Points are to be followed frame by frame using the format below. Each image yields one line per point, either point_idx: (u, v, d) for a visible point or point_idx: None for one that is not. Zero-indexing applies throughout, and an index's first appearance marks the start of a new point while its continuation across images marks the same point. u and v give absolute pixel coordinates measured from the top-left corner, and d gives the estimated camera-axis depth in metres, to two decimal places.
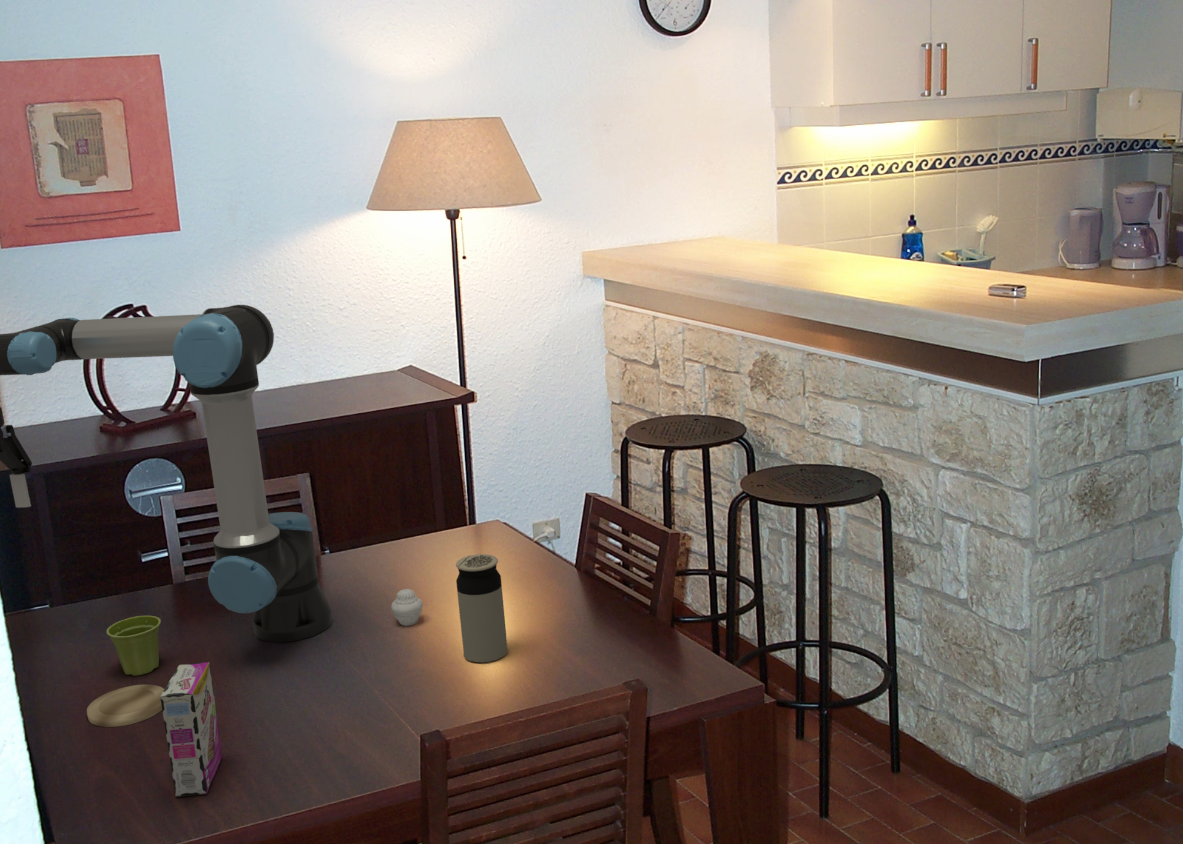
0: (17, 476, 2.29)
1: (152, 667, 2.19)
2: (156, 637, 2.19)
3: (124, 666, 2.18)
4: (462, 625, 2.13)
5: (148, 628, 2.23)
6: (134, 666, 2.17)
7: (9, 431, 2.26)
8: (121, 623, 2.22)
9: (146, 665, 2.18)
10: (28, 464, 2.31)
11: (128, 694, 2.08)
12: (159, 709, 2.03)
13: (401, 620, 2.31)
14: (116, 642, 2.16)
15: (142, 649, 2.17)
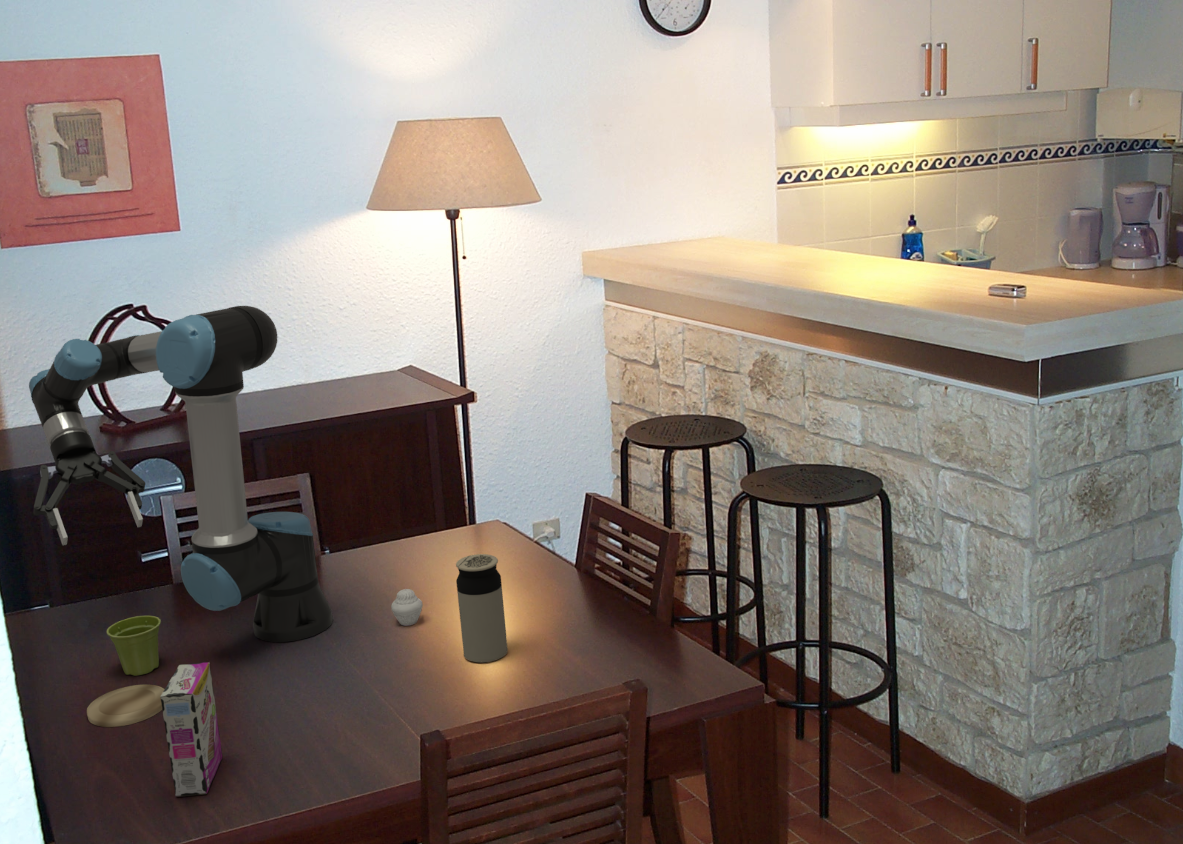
0: (128, 496, 2.29)
1: (152, 667, 2.19)
2: (156, 637, 2.19)
3: (124, 666, 2.18)
4: (462, 625, 2.13)
5: (148, 628, 2.23)
6: (134, 666, 2.17)
7: (110, 456, 2.32)
8: (121, 623, 2.22)
9: (146, 665, 2.18)
10: (139, 483, 2.31)
11: (128, 694, 2.08)
12: (159, 709, 2.03)
13: (401, 620, 2.31)
14: (116, 643, 2.16)
15: (142, 649, 2.17)
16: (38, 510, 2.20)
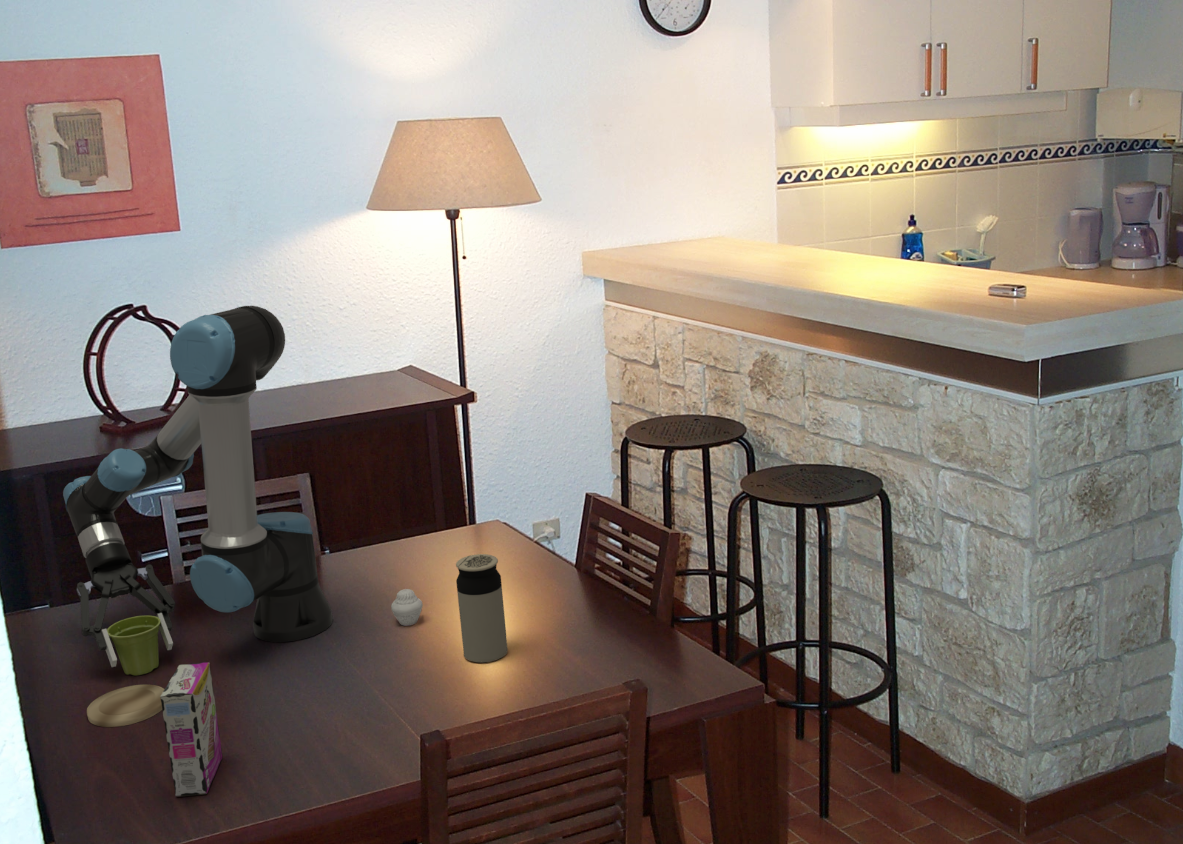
0: None
1: (152, 667, 2.19)
2: (156, 637, 2.19)
3: (124, 666, 2.18)
4: (462, 625, 2.13)
5: (148, 628, 2.23)
6: (134, 666, 2.17)
7: (146, 570, 2.26)
8: (121, 623, 2.22)
9: (146, 665, 2.18)
10: (169, 603, 2.24)
11: (128, 694, 2.08)
12: (159, 709, 2.03)
13: (401, 620, 2.31)
14: (116, 642, 2.16)
15: (142, 649, 2.17)
16: (87, 631, 2.15)
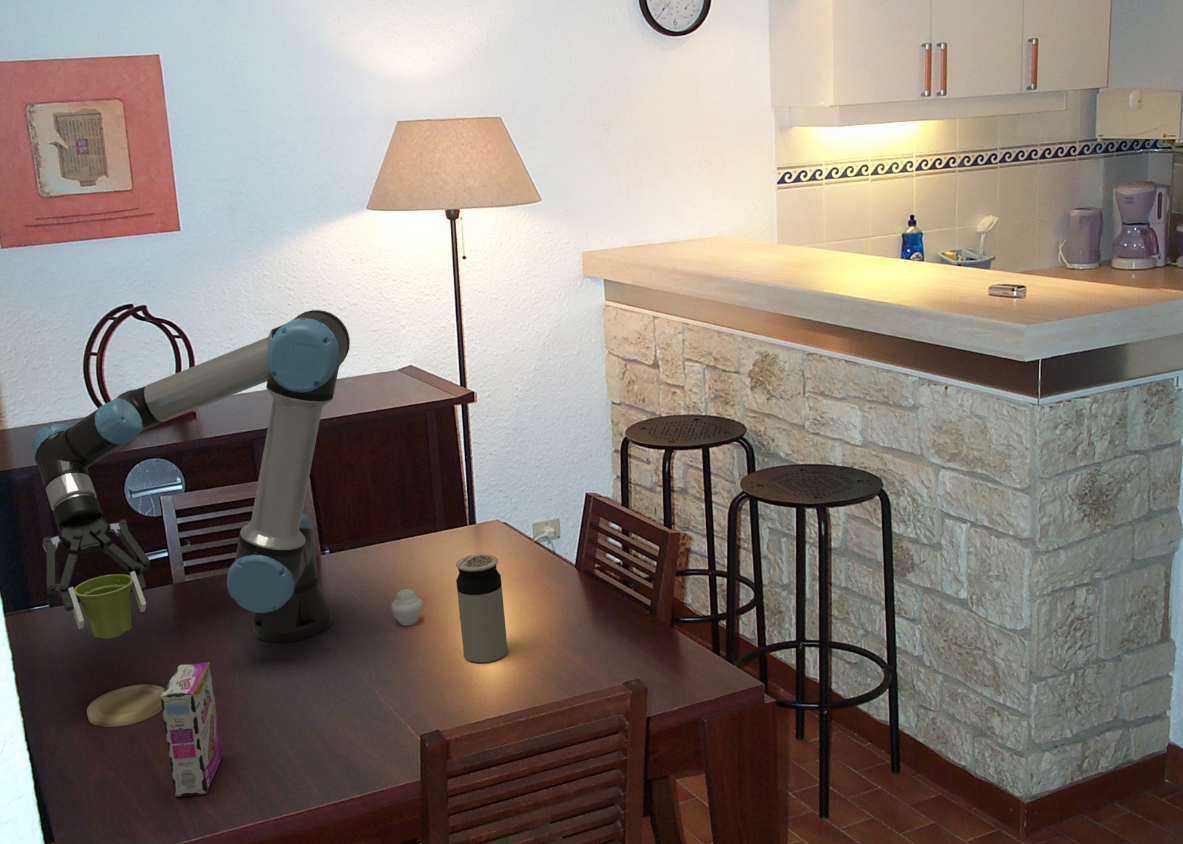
0: None
1: (123, 630, 2.01)
2: (128, 597, 2.01)
3: (93, 628, 2.00)
4: (462, 625, 2.13)
5: (120, 588, 2.05)
6: (104, 628, 1.99)
7: (119, 525, 2.08)
8: (91, 582, 2.04)
9: (116, 627, 2.00)
10: (143, 561, 2.06)
11: (128, 694, 2.08)
12: (159, 709, 2.03)
13: (401, 620, 2.31)
14: (83, 602, 1.98)
15: (111, 609, 1.99)
16: (53, 589, 1.98)
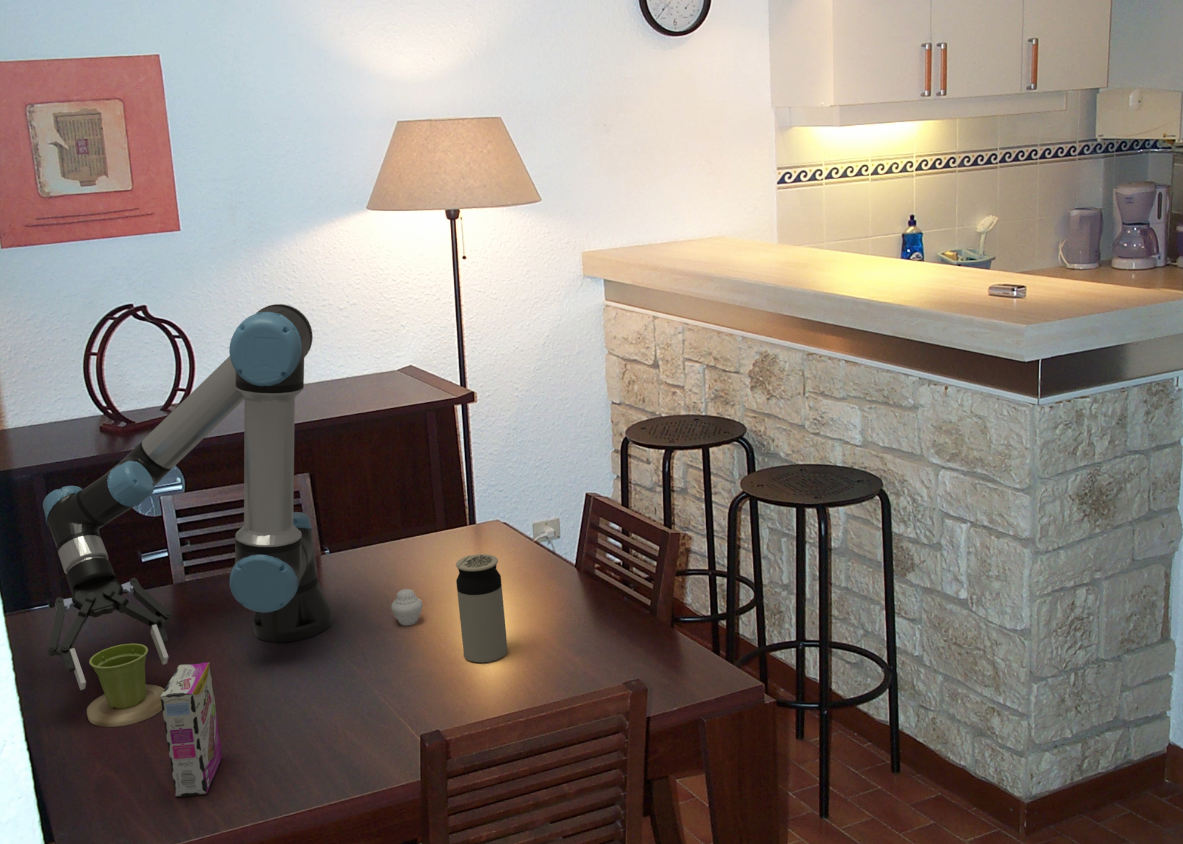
0: (151, 629, 2.08)
1: (138, 699, 2.04)
2: (143, 667, 2.04)
3: (108, 699, 2.02)
4: (462, 625, 2.13)
5: (134, 657, 2.07)
6: (119, 698, 2.02)
7: (131, 584, 2.10)
8: (105, 652, 2.06)
9: (132, 697, 2.02)
10: (164, 615, 2.09)
11: None
12: (159, 709, 2.03)
13: (401, 620, 2.31)
14: (99, 674, 2.00)
15: (127, 680, 2.01)
16: (53, 651, 1.99)
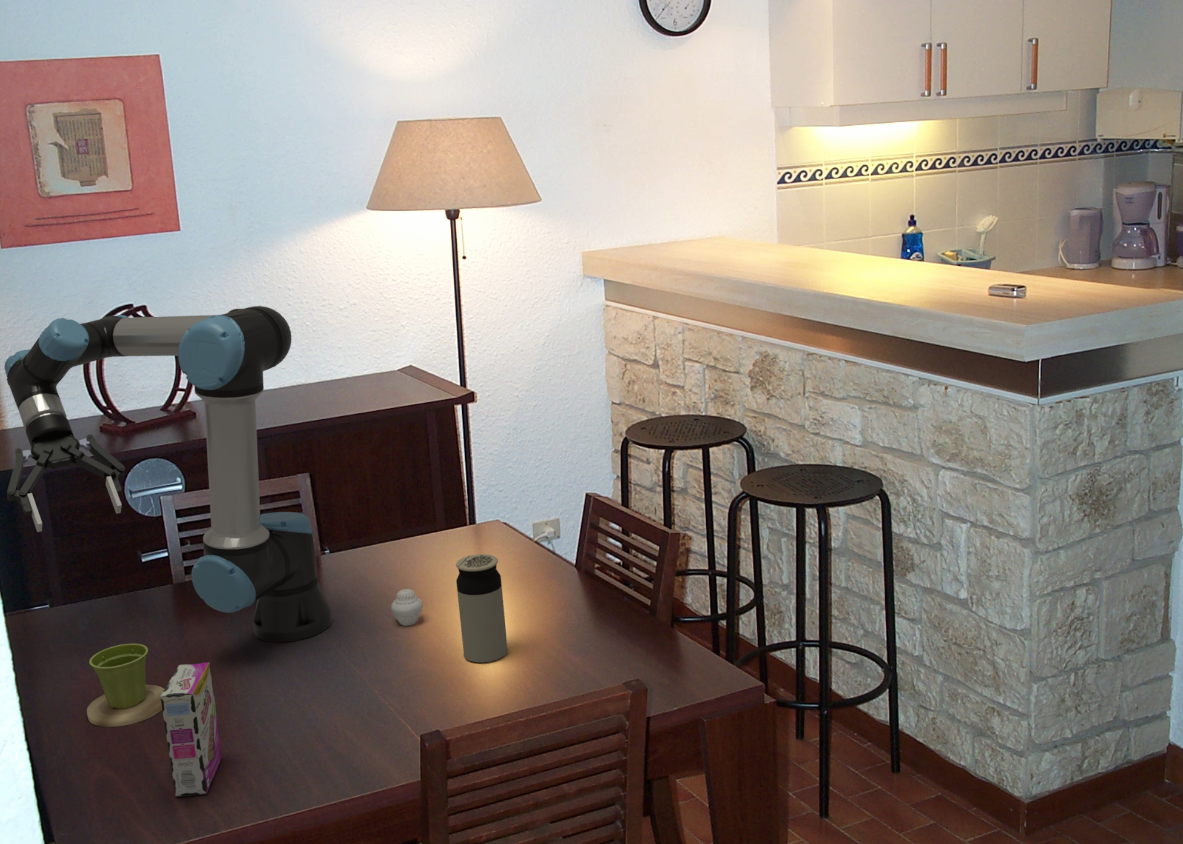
0: (106, 481, 2.20)
1: (139, 700, 2.04)
2: (143, 667, 2.04)
3: (108, 699, 2.02)
4: (462, 625, 2.13)
5: (134, 657, 2.07)
6: (119, 698, 2.02)
7: (88, 440, 2.22)
8: (105, 652, 2.06)
9: (132, 697, 2.02)
10: (119, 468, 2.21)
11: None
12: (159, 709, 2.03)
13: (401, 620, 2.31)
14: (99, 674, 2.00)
15: (127, 680, 2.01)
16: (12, 495, 2.11)
